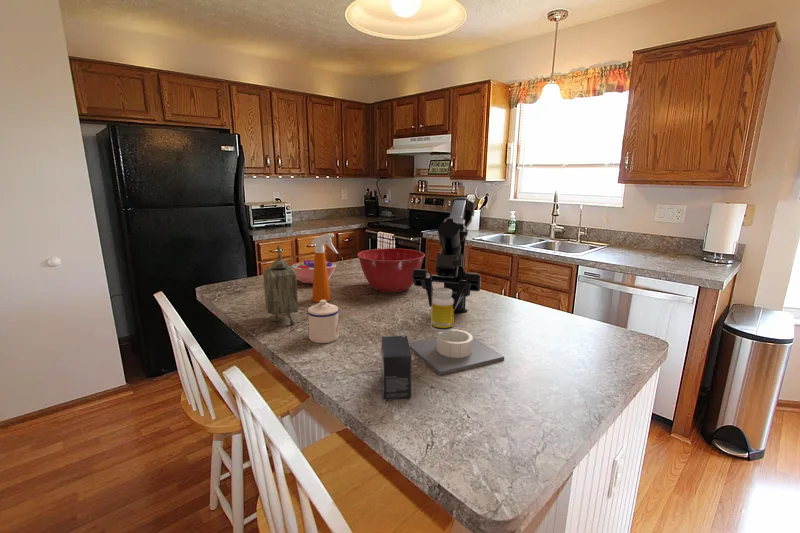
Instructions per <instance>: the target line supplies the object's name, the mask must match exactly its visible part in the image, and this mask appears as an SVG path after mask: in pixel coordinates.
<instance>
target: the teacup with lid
mask: <svg viewBox="0 0 800 533" xmlns="http://www.w3.org/2000/svg"><path fill="white" fill-rule="evenodd" d="M339 312H340V309H339V307H338V305H335V304H331V303H329V302H326V300H320V302H319V303H318V302H317V303H316V304H313V305H311V306H309V307H308V308H307V315H308V316H307V317H308V318H307V319H308V337H309V340H310V341H311V342H313V343H316V344H327V343H328V344H329V343H332V342H334V341H336V340H338V339H339V336H340V335H339Z"/></svg>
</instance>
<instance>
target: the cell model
mask: <svg viewBox="0 0 800 533" xmlns="http://www.w3.org/2000/svg"><path fill="white" fill-rule="evenodd" d="M291 265H292V266H293V268H294V270H295V272H296V279H298V281H300V282H301V283H303V284H311V285H313V277H314V260H311V259H308V260H306V259H304V260H303V261H302V262H296V263H293V264H291ZM326 266H327V274H328V280H330V278H331V276H332V275H333V273H334V272H335V269H336V267H337V263H335V262H331V261H328V260H326Z"/></svg>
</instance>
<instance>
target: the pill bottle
mask: <svg viewBox="0 0 800 533" xmlns="http://www.w3.org/2000/svg"><path fill="white" fill-rule="evenodd" d="M451 296H452V290H451V289H449V288H444V287H437V288H435V289H434V297H433V296H432V304H431V307H430V308H431V311H430V314H431V315H430V328H431V330H432V331H435V332H437V333H438V332H449V331H451V330H452V329H454V325H455V324H454V321H455V314H454V299H453V298H452V297H451Z"/></svg>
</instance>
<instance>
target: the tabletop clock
mask: <svg viewBox="0 0 800 533" xmlns="http://www.w3.org/2000/svg"><path fill="white" fill-rule="evenodd" d="M276 248H277V250H276V251H277V260H275V261H273V263H272V264H271V266H269V267H267V268H265V269H263V271H262V272H263V286H264V301H265V307H266V308H265V309H266V312H267V313H268V314H270V315H273V316H274V317H272V321H274V322H278V320H279V316H278V315H286V316H287V317H288V319H289V320H290V321H289V324H290V325H291V326H293V325H295V324H296V321H295V320H294V319H292V316H291V314H293V313H299V300H298V298H299V297H298V296H299V295H298V283H297V281H298V280H297V279H298V278H297V277H296V272H295V270H294V268H293V266H292V265H293V264H291V265H289V264H288V263H287V261H285V260H284V259H282V250H281V247H280V246H279V245H277V247H276Z"/></svg>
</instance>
